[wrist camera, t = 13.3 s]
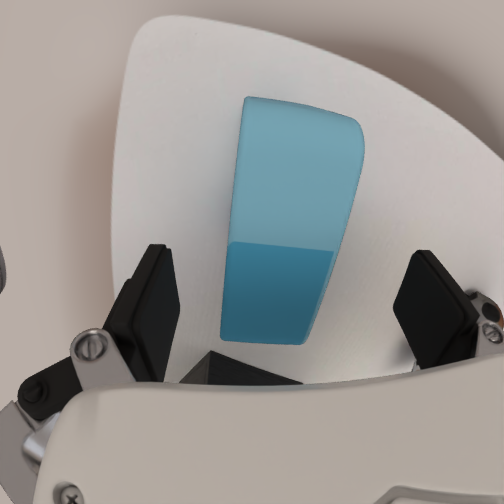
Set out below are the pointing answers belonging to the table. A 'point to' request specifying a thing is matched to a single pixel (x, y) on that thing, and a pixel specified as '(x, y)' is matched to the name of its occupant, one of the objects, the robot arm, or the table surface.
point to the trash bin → (231, 373)
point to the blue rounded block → (286, 217)
